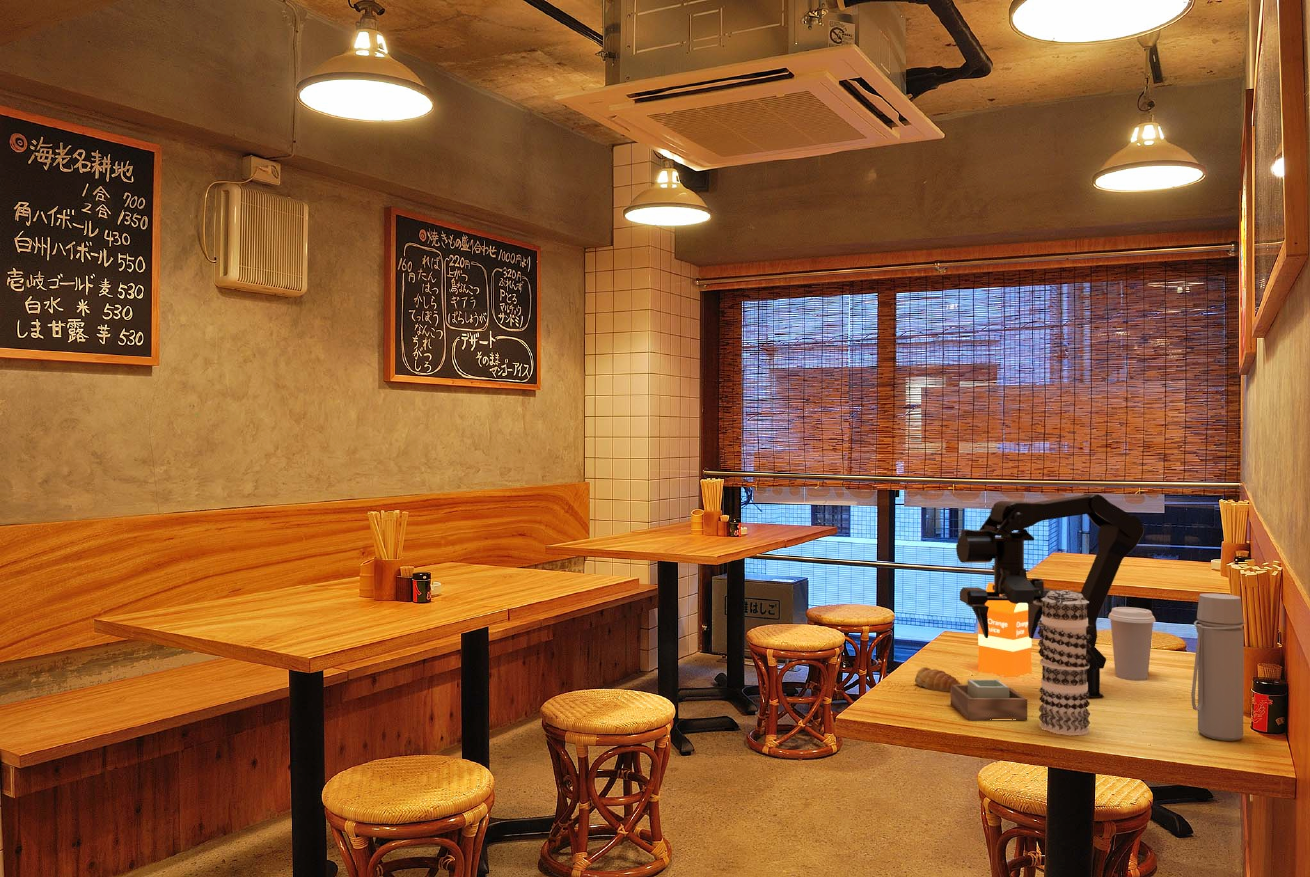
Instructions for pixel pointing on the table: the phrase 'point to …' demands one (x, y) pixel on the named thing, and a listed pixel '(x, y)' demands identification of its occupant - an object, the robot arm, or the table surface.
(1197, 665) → the water bottle
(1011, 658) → the orange juice
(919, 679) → the pastry
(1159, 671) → the table surface
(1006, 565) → the robot arm
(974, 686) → the small crate
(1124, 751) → the table surface
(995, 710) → the big crate
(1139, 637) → the coffee cup
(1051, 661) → the decorative candle
